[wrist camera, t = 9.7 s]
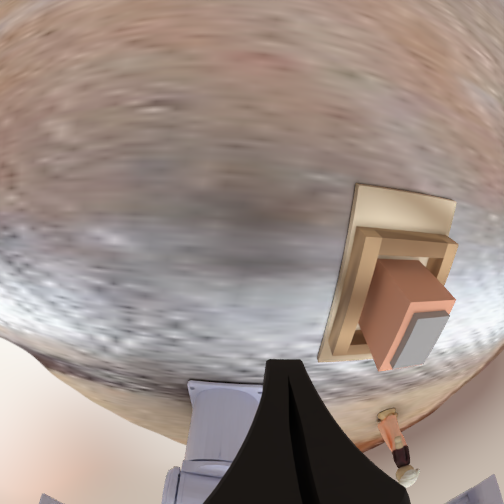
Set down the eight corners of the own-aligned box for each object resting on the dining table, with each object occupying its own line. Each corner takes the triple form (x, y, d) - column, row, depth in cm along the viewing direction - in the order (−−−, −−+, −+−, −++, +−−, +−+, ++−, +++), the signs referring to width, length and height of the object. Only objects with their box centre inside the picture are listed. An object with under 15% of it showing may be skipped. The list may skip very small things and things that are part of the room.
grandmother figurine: (367, 416, 30) (387, 492, 18) (391, 403, 28) (416, 479, 17) (384, 427, 32) (402, 491, 21) (405, 415, 31) (427, 480, 19)
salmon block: (396, 320, 21) (424, 370, 15) (357, 322, 21) (380, 377, 15) (418, 260, 18) (460, 305, 13) (376, 258, 18) (415, 308, 13)
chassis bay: (397, 351, 24) (406, 367, 21) (317, 357, 24) (321, 377, 21) (452, 199, 17) (470, 209, 14) (355, 183, 17) (369, 191, 14)
